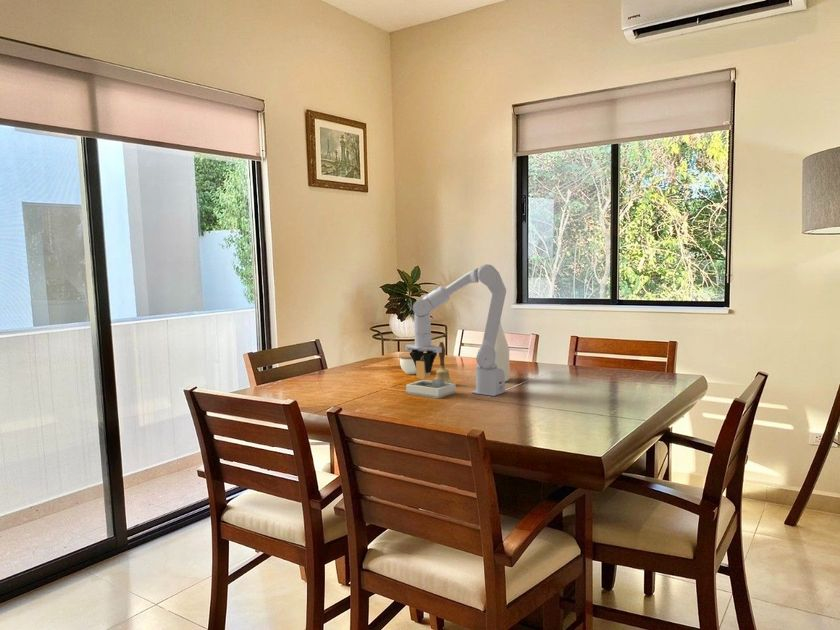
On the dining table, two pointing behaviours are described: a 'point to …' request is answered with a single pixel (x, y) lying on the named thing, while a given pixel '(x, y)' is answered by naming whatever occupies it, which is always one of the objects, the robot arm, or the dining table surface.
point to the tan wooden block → (421, 369)
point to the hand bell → (443, 367)
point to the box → (431, 388)
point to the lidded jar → (407, 363)
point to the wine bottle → (502, 353)
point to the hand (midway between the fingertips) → (423, 371)
